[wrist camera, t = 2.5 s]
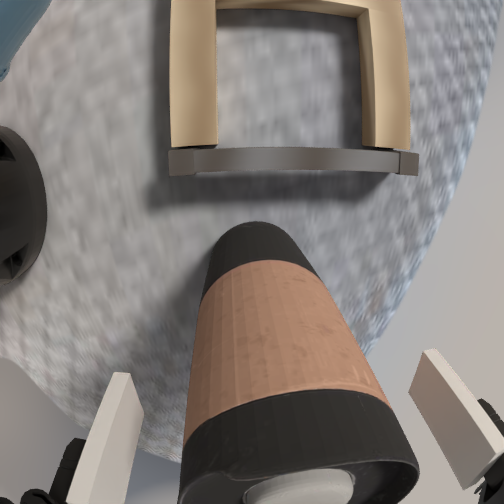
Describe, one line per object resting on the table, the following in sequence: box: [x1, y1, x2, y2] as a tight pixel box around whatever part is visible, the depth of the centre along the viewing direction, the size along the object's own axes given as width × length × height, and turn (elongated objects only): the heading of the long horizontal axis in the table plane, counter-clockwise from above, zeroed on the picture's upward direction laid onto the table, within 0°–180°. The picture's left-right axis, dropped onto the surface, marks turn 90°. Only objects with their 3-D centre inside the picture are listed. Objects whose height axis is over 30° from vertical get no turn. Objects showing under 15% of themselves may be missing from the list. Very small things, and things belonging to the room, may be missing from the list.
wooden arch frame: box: [168, 0, 419, 176], centre depth 18 cm, size 17×17×4 cm
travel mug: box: [177, 221, 420, 504], centre depth 16 cm, size 8×8×20 cm
